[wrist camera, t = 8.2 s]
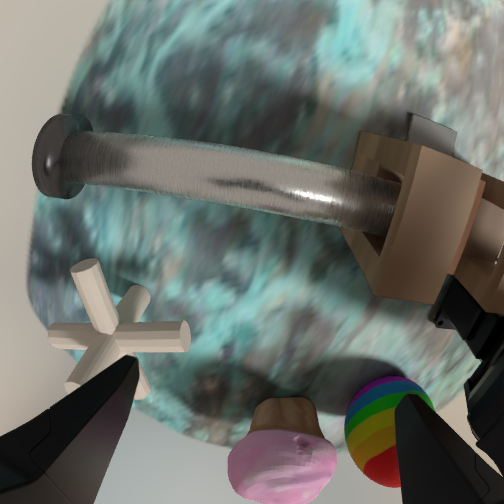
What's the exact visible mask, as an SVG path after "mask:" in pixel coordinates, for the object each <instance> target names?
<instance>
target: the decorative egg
mask: <svg viewBox="0 0 504 504" xmlns="http://www.w3.org/2000/svg"><path fill="white" fill-rule="evenodd" d="M407 393H416V394H418V395H419V396H420V397H421V398H422V399H423V400H424V401H425V402H426V403H427V404H428V405H429V406H430V407H431V408H432V409H433V410H434V407H433V404H432V402H431V400H430V398H429V397H428V395H427V394H426V392H425V391H424V390H423V389H422V388H421V387H420V386H419V385H417V384H416V383H414V382H413V381H411V380H409V379H406V378H403V377H399V376H387V377H382V378H379V379H376V380H374V381H372V382H370V383H368V384H366V385H365V386H364V387H362V388H361V389H360V390H359V391H358V392H357V394H356V395H355V396H354V398H353V399H352V401H351V403H350V405H349V408H348V410H347V413H346V417H345V425H344V431H345V440H346V444H347V447H348V450H349V453H350V455H351V457H352V459H353V461H354V462H355V463H356V465H357V467H358V468H359V469H360V470H361V471H362V472H363V473H364V474H365V475H366V476H367V477H368V478H370V479H371V480H373V481H374V482H376V483H378V484H380V485H383V486H386V487H392V488H397V487H401V483H400V475H399V467H398V460H397V452H396V437H395V418H394V411H395V408H396V406H397V405H398V403H399V402H400V401H401V399H402V398H403V396H404V395H405V394H407ZM434 411H435V410H434Z"/></svg>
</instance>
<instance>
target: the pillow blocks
mask: <svg viewBox="0 0 504 504" xmlns="http://www.w3.org/2000/svg"><path fill="white" fill-rule="evenodd" d="M351 170H353V171H357V172H361V173H364V174H368V175H372V176H376V177H379V178H383V179H387V180H390V181H394V182H397V183H401V184H402V187H401V191H400V195H399V198H398V201H397V205H396V208H395V212H394V215H393V218H392V221H391V225H390V228H389V231H388V234H387V237H385V236H380V235H376V234H371V233H367V232H362V231H358V230H353V229H348V228H344V227H339V226H338V227H339V229H340V230H341V232H342V234H343V236H344V238H345V239H346V241H347V243H348V245H349V247H350V249H351V251H352V253H353V254H354V256H355V258H356V260H357V262H358V264H359V266H360V268H361V270H362V272H363V274H364V276H365V278H366V280H367V282H368V284H369V286H370V288H371V290H372V292H373V294H374V296H380V297H386V298H393V299H399V300H406V301H412V302H419V303H426V304H433V305H434V303H435V301H436V299H437V296H438V294H439V292H440V290H441V288H442V285H443V283H444V281H445V278H446V276H447V274H448V271H449V269H450V267H451V264H452V262H453V259H454V257H455V254H456V252H457V249H458V246H459V244H460V241H461V238H462V236H463V233H464V230H465V227H466V224H467V221H468V218H469V215H470V212H471V209H472V206H473V203H474V199H475V196H476V193H477V189H478V186H479V182H480V180H482V181H485V182H486V183H485V187H484V190H483V194H482V197H481V201H480V204H479V207H478V210H477V213H476V216H475V219H474V222H473V225H472V228H471V231H470V234H469V236H468V239H467V242H466V245H465V247H464V250H463V252H462V255H461V257H460V260H459V262H458V265H457V267H456V270H455V272H454V274H453V275H454V276H455V277H456V278H457V279H458V281H459V282H460V283H461V284H462V285H463V286H464V287H465V288H466V290H467V291H468V292H469V293H470V294H471V295H472V296H473V298H474V299H475V300H476V301H477V302H478V303H479V305H480V306H481V307H482V308H483V309H484V310H485V312H490V313H498V314H504V246H503V248H502V251H501V254H500V256H499V259H498V261H497V263H496V264H495V261H496V259H497V257H498V254H499V252H500V249H501V246H502V244H503V241H504V182H503V181H501V180H498V179H496V178H494V177H491V176H489V175H486V174H484V173H482V171H483V170H481V169H479V168H477V167H475V166H472V165H470V164H468V163H465V162H463V161H461V160H458V159H456V158H453V157H451V156H448V155H446V154H443V153H441V152H438V151H435V150H433V149H430V148H427V147H425V146H422V145H418V144H414V143H411V142H407V141H403V140H399V139H395V138H391V137H387V136H382V135H378V134H373V133H369V132H364V131H360V134H359V139H358V143H357V148H356V152H355V157H354V161H353V165H352V169H351Z"/></svg>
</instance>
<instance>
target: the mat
mask: <svg viewBox="0 0 504 504" xmlns="http://www.w3.org/2000/svg"><path fill="white" fill-rule="evenodd" d="M456 135H457V132H456V131H454V130H451V129H449V128H447V127H444V126H442V125H440V124H437V123H435V122H432V121H430V120H427V119H425V118H422V117H420V116H417V115H414V114H412V116H411V121H410V126H409V131H408V135H407V140H406V141H407V142H411V143H414V144H418V145H422V146H425V147H427V148H430V149H433V150H435V151H438V152H441V153H443V154H446V155H448V156H451V157H452V153H453V149H454V145H455V140H456Z"/></svg>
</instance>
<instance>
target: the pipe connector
mask: <svg viewBox="0 0 504 504" xmlns="http://www.w3.org/2000/svg"><path fill="white" fill-rule="evenodd" d="M70 272H71V275H72V277H73V280H74V283H75V285H76V288H77V290H78V293H79V295H80V297H81V300H82V302H83V305H84V307H85V309H86V312H87V314H88V316H89V318H90V321H91V323H53V324H51V325H50V327H49V329H48V339H49V342H50V344H51V345H52V346H53V347H54V348H61V349H75V350H86V352H85V353H84V355H83V356H82V358H81V359H80V361H79V362H78V364H77V365H76V367H75V369H74V370H73V372H72V373H71V375H70V376H69V378H68V380H67V381H66V383H65V385H64V387H65V390H66V391H67V393H68V394H70V393H71V392H73V391H74V390H76V389H77V388H78V387H80V386H81V385H83V384H84V383H86V382H87V381H88V380H90V379H91V378H93V377H94V376H96V375H97V374H98V373H100V372H101V371H103V370H104V369H105V368H107V367H108V366H110V365H111V364H113V363H114V362H115V361H117V360H118V359H120V358H121V357H123V356H124V355H131V356H134V357H137V356H136V354H135V352H188V350H189V349H190V343H191V334H190V329H189V326H188V323H187V322H186V321H164V322H138V321H139V319H140V317H141V316H142V314H143V312H144V311H145V309H146V307H147V305H148V304H149V302H150V298H151V297H150V294H149V292H148V290H147V289H146V288H144V287H143V286H140V285H133V286H131V287H130V288H129V290H128V291H127V292H126V294H125V295H124V297H123V298H122V299H121V301H120V302H119V304H118V305H117V306H116V307H115V305H114V302H113V300H112V297H111V294H110V292H109V289H108V286H107V284H106V281H105V278H104V275H103V273H102V270H101V267H100V264H99V261H98V260H97V259H96V258H91V259H87V260H83V261H81V262H79V263H77V264H75V265H74V266H72V268H71V269H70ZM139 371H140V378H139V382H138V386H137V389H136V393H135V396H134V399H135V400H139V399H143V398H145V397H147V396H148V395H149V393H150V392H151V385H150V383H149V381H148V379H147V377H146V375H145V373H144V371H143V369H142V367H141V365H140V363H139Z"/></svg>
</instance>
